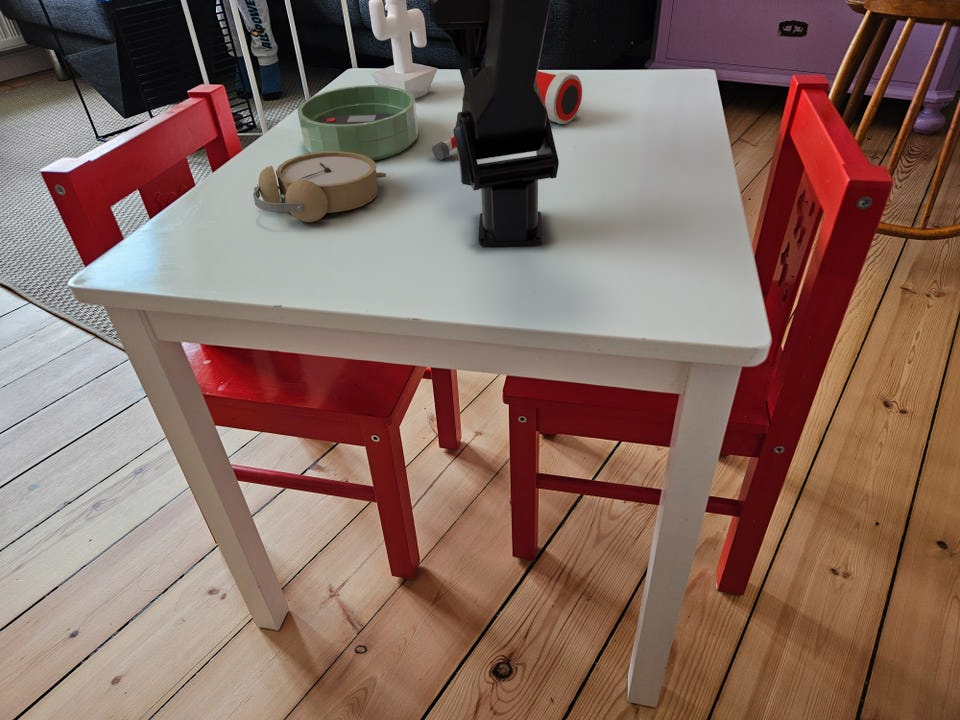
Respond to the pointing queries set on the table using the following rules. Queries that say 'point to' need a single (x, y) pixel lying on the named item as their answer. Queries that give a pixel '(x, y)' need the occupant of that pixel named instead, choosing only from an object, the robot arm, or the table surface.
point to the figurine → (401, 46)
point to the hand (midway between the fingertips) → (471, 72)
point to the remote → (353, 118)
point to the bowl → (362, 137)
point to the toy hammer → (557, 96)
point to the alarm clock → (318, 184)
